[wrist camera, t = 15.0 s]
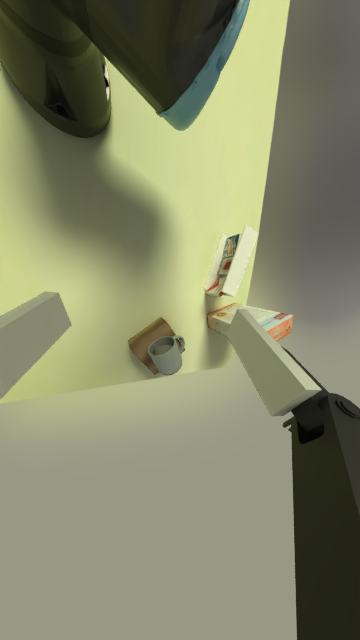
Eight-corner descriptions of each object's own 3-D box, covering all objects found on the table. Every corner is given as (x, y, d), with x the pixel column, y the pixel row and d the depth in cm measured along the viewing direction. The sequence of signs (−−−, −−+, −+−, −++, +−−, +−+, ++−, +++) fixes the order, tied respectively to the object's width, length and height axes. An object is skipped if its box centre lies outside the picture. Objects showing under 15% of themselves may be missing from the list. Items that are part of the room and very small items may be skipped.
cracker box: (208, 328, 51) (258, 355, 33) (206, 314, 49) (258, 334, 31) (235, 316, 56) (292, 333, 38) (234, 302, 54) (294, 314, 35)
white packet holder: (222, 233, 43) (246, 222, 35) (233, 241, 46) (258, 233, 38) (202, 293, 46) (220, 295, 38) (213, 297, 49) (233, 301, 41)
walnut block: (128, 339, 40) (130, 348, 35) (160, 316, 42) (166, 321, 37) (150, 364, 45) (154, 374, 40) (177, 342, 48) (185, 349, 43)
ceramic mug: (156, 366, 40) (165, 384, 33) (144, 345, 36) (151, 360, 29) (185, 348, 43) (199, 360, 36) (177, 327, 39) (190, 336, 33)
